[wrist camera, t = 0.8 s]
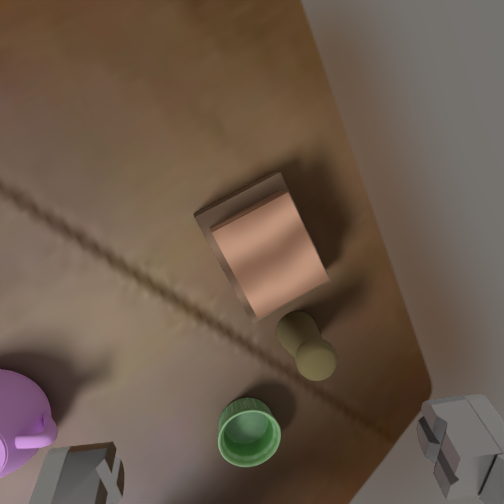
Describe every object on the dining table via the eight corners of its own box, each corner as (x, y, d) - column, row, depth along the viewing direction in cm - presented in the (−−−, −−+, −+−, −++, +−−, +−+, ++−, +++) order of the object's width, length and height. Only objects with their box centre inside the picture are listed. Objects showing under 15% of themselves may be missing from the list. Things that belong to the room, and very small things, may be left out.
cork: (313, 307, 60) (341, 337, 49) (318, 345, 61) (347, 382, 50) (273, 316, 59) (293, 348, 48) (279, 354, 60) (300, 394, 50)
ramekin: (245, 457, 63) (249, 478, 59) (202, 424, 61) (204, 443, 56) (286, 417, 63) (293, 435, 58) (245, 381, 60) (250, 398, 56)
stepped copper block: (321, 273, 59) (342, 289, 51) (247, 313, 58) (257, 335, 50) (273, 171, 55) (288, 172, 47) (193, 213, 54) (195, 221, 46)
